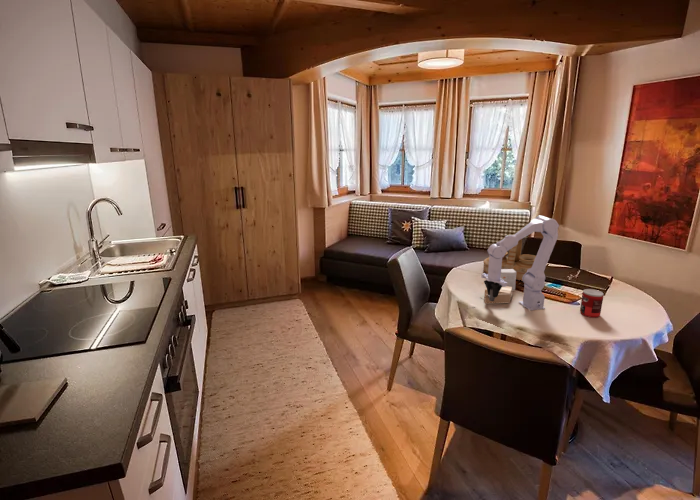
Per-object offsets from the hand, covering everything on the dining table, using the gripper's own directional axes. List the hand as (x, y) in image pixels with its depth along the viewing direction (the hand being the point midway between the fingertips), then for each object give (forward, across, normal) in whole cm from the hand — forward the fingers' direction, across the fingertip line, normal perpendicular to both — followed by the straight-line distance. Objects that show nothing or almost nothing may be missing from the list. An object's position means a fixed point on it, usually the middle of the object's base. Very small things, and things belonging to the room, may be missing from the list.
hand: (492, 295), depth 176 cm
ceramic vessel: (+7, -28, +43) cm, 51 cm away
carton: (+6, -8, +12) cm, 15 cm away
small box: (+6, -14, +24) cm, 29 cm away
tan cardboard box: (+6, 0, +5) cm, 8 cm away
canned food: (+6, +26, +34) cm, 43 cm away
